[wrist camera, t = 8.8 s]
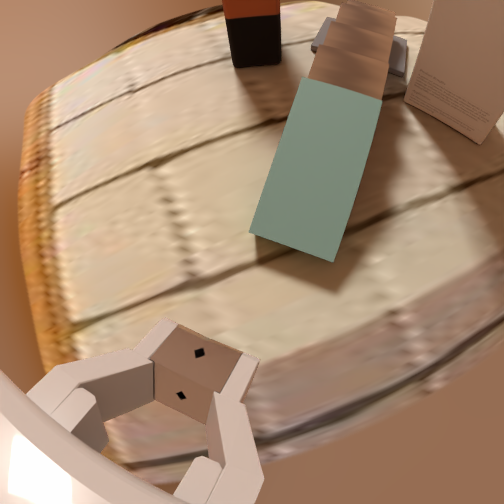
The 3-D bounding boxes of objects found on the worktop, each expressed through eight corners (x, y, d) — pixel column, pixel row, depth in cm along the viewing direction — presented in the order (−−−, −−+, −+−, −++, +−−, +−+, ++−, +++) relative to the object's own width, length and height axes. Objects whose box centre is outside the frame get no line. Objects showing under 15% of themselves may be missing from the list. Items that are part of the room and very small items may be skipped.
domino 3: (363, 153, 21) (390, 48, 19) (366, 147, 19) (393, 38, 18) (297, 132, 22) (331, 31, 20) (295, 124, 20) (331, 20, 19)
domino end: (332, 260, 18) (378, 110, 17) (333, 262, 17) (382, 100, 16) (254, 232, 19) (304, 88, 18) (248, 232, 18) (302, 76, 17)
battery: (233, 70, 24) (217, -26, 15) (230, 34, 27) (217, -46, 17) (282, 66, 24) (279, -31, 15) (272, 30, 26) (267, -51, 17)
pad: (405, 44, 25) (406, 40, 24) (402, 77, 23) (404, 72, 23) (326, 20, 27) (326, 16, 26) (310, 50, 25) (311, 45, 24)
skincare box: (485, 110, 22) (548, -6, 7) (479, 151, 20) (566, 17, 5) (413, 67, 24) (451, -63, 9) (397, 101, 22) (445, -58, 7)
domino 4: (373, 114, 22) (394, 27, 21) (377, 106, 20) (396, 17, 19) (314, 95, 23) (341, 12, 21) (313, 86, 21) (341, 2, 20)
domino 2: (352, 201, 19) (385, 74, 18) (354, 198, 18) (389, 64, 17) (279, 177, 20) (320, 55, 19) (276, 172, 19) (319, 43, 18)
